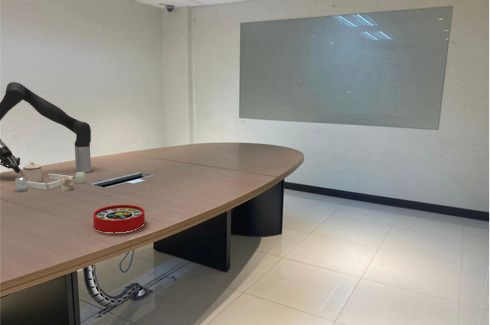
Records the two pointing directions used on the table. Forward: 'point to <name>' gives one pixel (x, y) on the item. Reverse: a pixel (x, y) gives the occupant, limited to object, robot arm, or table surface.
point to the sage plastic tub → (80, 177)
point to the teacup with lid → (32, 172)
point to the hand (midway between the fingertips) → (19, 172)
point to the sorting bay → (49, 185)
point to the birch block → (66, 184)
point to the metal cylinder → (21, 184)
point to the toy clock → (118, 218)
